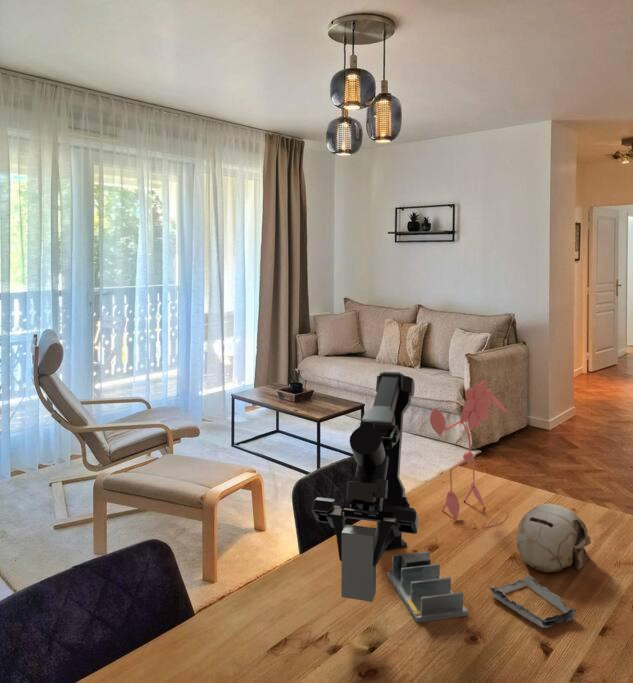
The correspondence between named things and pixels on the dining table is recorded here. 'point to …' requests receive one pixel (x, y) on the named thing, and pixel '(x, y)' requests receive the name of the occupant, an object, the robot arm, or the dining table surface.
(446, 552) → the dining table surface
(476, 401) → the figurine
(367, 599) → the block
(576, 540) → the coin bank
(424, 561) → the rack
